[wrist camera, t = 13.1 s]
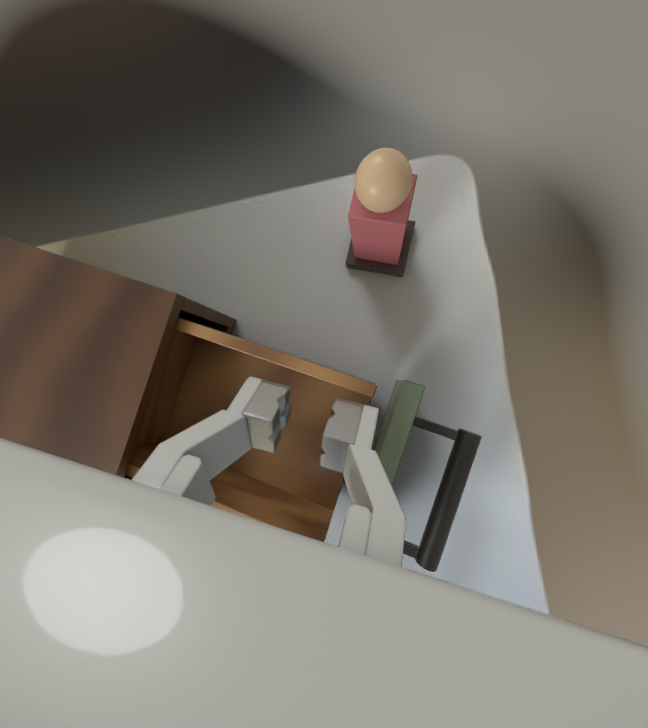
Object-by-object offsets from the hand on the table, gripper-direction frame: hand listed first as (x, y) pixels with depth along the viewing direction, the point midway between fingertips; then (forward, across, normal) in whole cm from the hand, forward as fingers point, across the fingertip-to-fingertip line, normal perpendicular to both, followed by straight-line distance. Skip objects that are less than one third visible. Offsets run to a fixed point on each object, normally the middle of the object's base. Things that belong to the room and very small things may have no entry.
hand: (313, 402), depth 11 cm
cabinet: (+10, +22, +13) cm, 27 cm away
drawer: (+8, +3, +13) cm, 16 cm away
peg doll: (+20, 0, +2) cm, 20 cm away
